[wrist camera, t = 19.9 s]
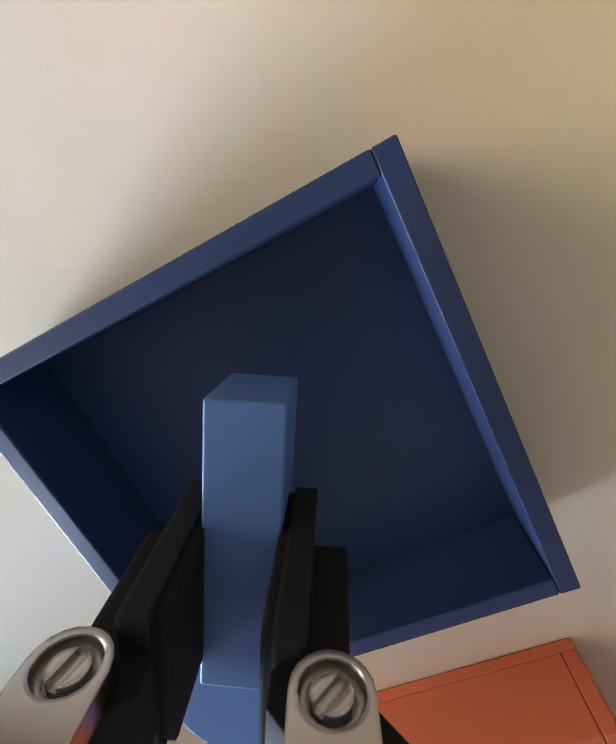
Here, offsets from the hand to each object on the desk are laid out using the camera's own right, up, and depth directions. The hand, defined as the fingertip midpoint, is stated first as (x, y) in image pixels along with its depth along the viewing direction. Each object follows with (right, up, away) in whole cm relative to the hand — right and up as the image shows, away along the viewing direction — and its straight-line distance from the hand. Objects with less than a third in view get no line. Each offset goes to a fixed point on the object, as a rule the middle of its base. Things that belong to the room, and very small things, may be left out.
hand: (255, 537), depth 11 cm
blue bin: (+1, +2, +5) cm, 5 cm away
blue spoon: (0, -1, +1) cm, 1 cm away
